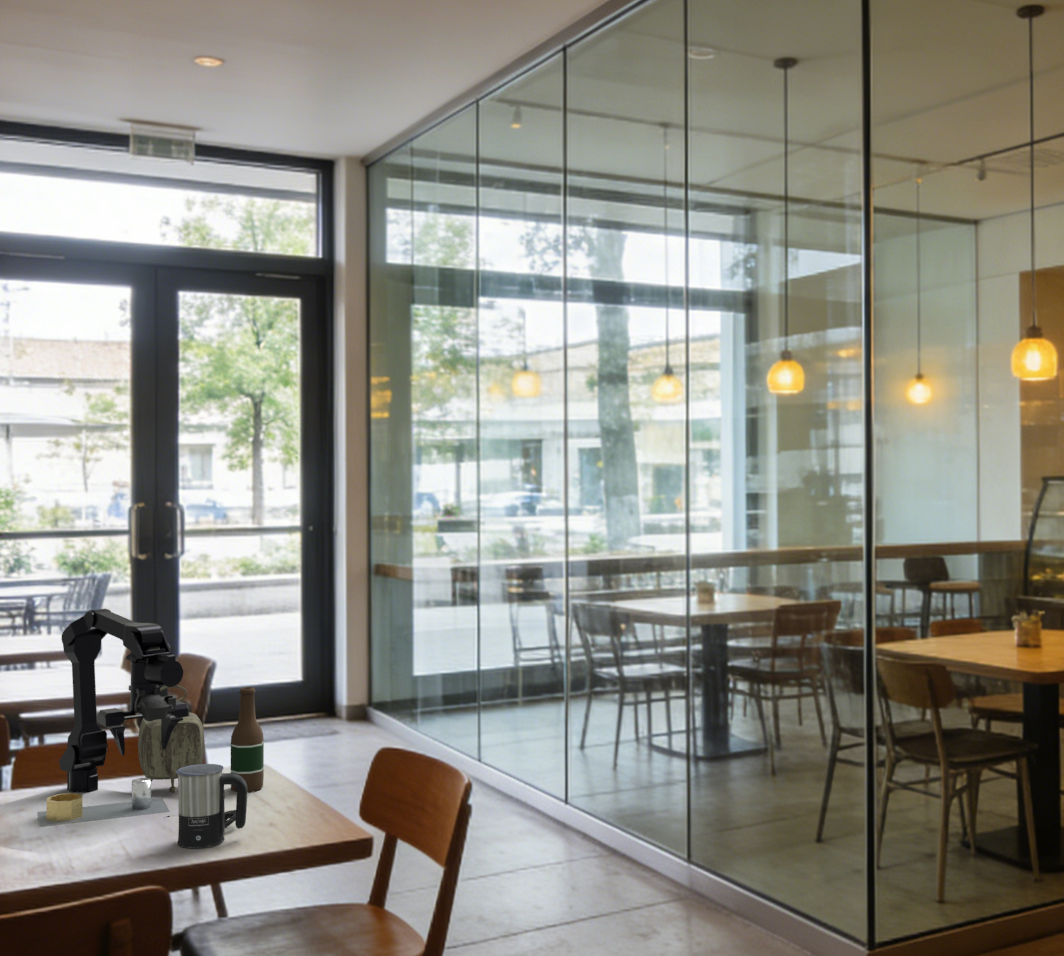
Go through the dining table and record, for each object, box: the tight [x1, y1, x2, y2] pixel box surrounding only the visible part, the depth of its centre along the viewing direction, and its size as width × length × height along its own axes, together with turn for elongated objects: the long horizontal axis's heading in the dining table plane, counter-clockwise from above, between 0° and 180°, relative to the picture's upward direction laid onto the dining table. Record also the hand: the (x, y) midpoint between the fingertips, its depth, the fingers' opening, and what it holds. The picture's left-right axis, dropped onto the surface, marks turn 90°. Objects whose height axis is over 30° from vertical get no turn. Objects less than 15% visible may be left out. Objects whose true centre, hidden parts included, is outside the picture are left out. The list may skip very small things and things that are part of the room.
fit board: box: [37, 777, 171, 828], centre depth 244 cm, size 26×12×7 cm, turn 115°
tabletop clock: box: [137, 684, 206, 794], centre depth 265 cm, size 14×9×25 cm, turn 114°
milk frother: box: [176, 763, 248, 849], centre depth 230 cm, size 14×16×15 cm
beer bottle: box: [230, 686, 265, 793], centre depth 267 cm, size 8×8×24 cm
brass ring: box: [46, 792, 84, 821], centre depth 240 cm, size 7×7×4 cm
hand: (143, 752), depth 248 cm, fingers open, 9 cm apart
